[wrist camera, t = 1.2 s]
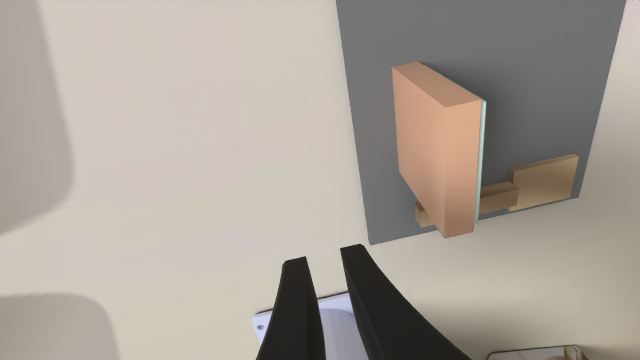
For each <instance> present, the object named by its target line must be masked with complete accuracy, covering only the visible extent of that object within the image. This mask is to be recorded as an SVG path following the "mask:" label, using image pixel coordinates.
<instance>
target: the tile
mask: <svg viewBox="0 0 640 360" xmlns="http://www.w3.org/2000/svg"><path fill="white" fill-rule="evenodd" d="M392 77H393V92H394V106H395V120H396V134H397V149H398V163H399V172H400V174H401V175H402V177H403V178H404V180H405V181H406V183H407V184H408V186H409V187H410V189H411V190H412V192H413V193H414V194H415V196H416V197H417V199H418V200H419V202H420V203H421V205H422V206H423V208H424V209H425V211H426V212H427V214H428V215H429V217H430V218H431V220H432V221H433V223H434V224H435V226H436V227H437V228H438V230H439V231H440V233H441V234H442V236H443V237H444V239H445V238H449V237H453V236H458V235H462V234H466V233H471V232H473V229H474V225H475V224H478V215H479V201H480V186H481V172H482V157H483V142H484V128H485V113H486V101H485V100H483V99H481V98H480V97H478V96H476V95H475V94H473V93H471V92H470V91H468V90H466V89H464V88H463V87H461V86H459V85H458V84H456V83H454V82H453V81H451V80H449V79H448V78H446V77H444V76H443V75H441V74H439V73H437V72H436V71H434V70H432V69H431V68H429V67H427V66H426V65H423V64H421V63H419V62H413V63H408V64H404V65H399V66H394V67H392Z"/></svg>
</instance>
